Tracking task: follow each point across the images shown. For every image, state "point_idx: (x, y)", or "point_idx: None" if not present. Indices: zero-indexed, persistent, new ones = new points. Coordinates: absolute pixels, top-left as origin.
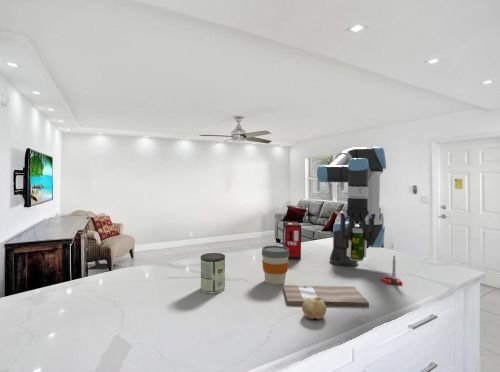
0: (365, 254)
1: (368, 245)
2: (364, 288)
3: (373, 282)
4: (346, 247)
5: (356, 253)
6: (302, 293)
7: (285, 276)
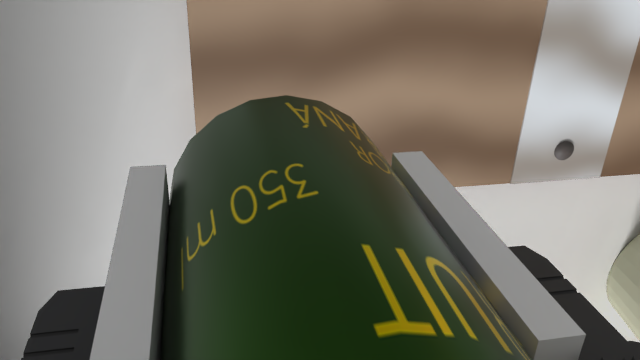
0: (144, 188)
1: (40, 337)
2: (109, 234)
3: (3, 355)
4: (522, 252)
5: (341, 136)
6: (631, 28)
7: (637, 283)
